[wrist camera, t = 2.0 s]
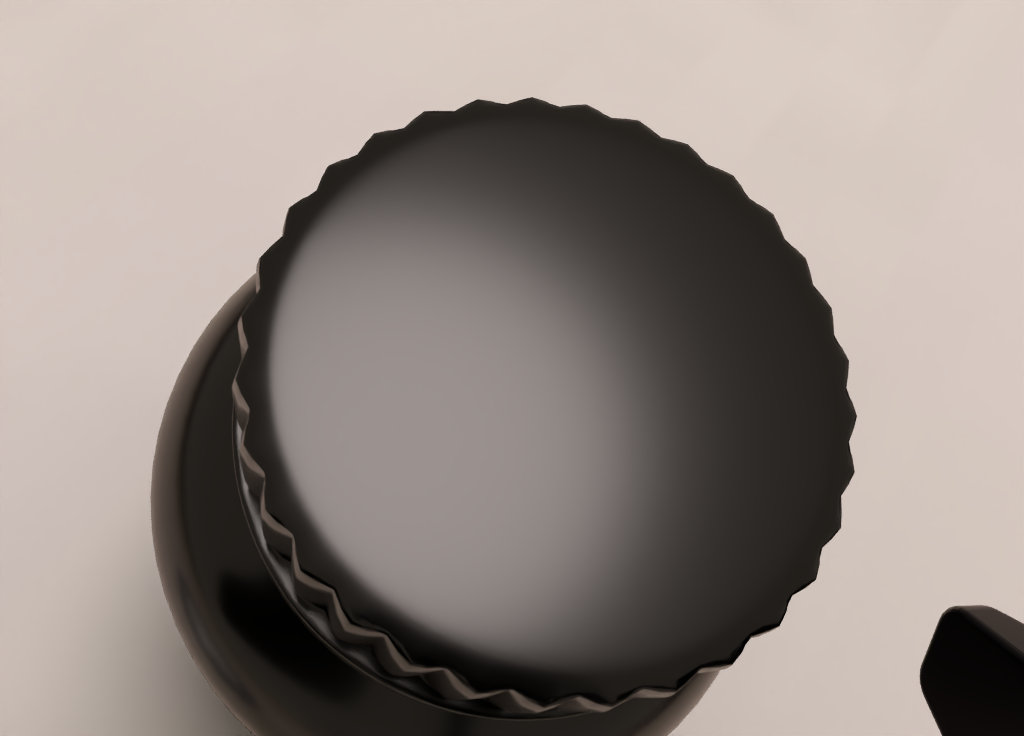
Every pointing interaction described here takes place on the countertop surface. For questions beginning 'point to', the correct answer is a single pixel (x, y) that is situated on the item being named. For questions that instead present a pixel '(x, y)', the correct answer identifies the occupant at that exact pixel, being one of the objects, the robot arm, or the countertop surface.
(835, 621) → the countertop surface
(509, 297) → the supplement bottle
